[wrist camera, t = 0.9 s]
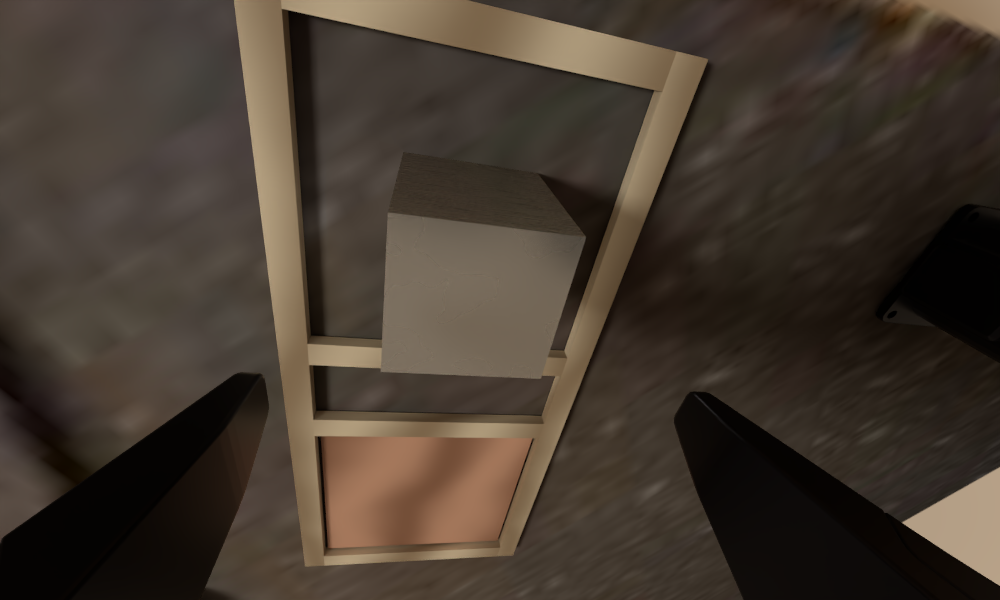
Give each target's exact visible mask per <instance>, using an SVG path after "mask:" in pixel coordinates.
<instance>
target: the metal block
mask: <svg viewBox="0 0 1000 600" xmlns="http://www.w3.org/2000/svg"><path fill="white" fill-rule="evenodd" d="M585 240H586V236H585V235H584V234H583V232H582V231H581V230H580V228H579V227H578V226H577V225H576V223H575V222H574V221H573V219H572V218H571V217H570V215H569V214H568V213H567V211H566V210H565V209H564V207H563V206H562V205H561V203H560V202H559V201H558V200H557V198H556V197H555V196H554V194H553V193H552V192H551V190H550V189H549V188H548V186H547V185H546V184H545V182H544V181H543V180H542V178H541V177H540V176H539V175H538V173H534V172H528V171H521V170H515V169H509V168H502V167H496V166H490V165H483V164H477V163H471V162H464V161H458V160H452V159H445V158H439V157H433V156H426V155H420V154H414V153H407V152H403V156H402V160H401V164H400V167H399V171H398V175H397V179H396V183H395V187H394V191H393V195H392V199H391V203H390V206H389V210H388V223H387V245H386V268H385V290H384V312H383V334H382V357H381V372H398V373H421V374H444V375H467V376H490V377H513V378H536V379H541V376H542V373H543V370H544V367H545V364H546V361H547V358H548V354H549V351H550V348H551V345H552V342H553V339H554V336H555V333H556V330H557V327H558V323H559V320H560V317H561V314H562V311H563V308H564V305H565V302H566V299H567V296H568V292H569V289H570V286H571V283H572V280H573V277H574V274H575V271H576V268H577V264H578V261H579V258H580V255H581V252H582V249H583V246H584V243H585Z"/></svg>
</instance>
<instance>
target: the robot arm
mask: <svg viewBox="0 0 1000 600" xmlns="http://www.w3.org/2000/svg"><path fill="white" fill-rule="evenodd" d="M876 316H877V317H878V318H879V319H881V320H882V321H884V322H889V323H900V324H911V325H922V326H932V327H938V328H940V329H942V330H943V331H945V332H947V333H949V334H950V335H952V336H954V337H955V338H957V339H959V340H961V341H962V342H964V343H966V344H968V345H969V346H971V347H973V348H975V349H976V350H978V351H980V352H981V353H983V354H985V355H987V356H988V357H990V358H992V359H994V360H995V361H997V362H999V363H1000V209H996V208H990V207H985V206H980V205H974V204H969V205H966V206H964V207H962V208H961V209H960V210H959V211H958V212H957V213H956V214H955V215H954V216H953V218H952V219H951V220H950V221H949V223H948V224H947V225H946V226H945V228H944V229H943V230H942V231H941V233H940V234H939V235H938V236H937V237H936V239H935V240H934V241H933V242H932V244H931V245H930V246H929V247H928V249H927V250H926V251H925V252H924V254H923V255H922V256H921V257H920V258H919V260H918V261H917V262H916V263H915V265H914V266H913V267H912V268H911V270H910V271H909V272H908V273H907V275H906V276H905V277H904V278H903V279H902V281H901V282H900V283H899V284H898V286H897V287H896V288H895V289H894V291H893V292H892V293H891V294H890V296H889V297H888V298H887V299H886V301H885V302H884V303H883V304H882V305H881V307H880V308H879V309H878V311H877V312H876ZM268 410H269V403H268V396H267V390H266V383H265V378H264V376H263V375H262V374H260V373H247V372H240V373H237V374H234V375H233V376H231V377H230V378H229V379H227V380H226V381H224V382H223V383H221V384H220V385H219V386H217V387H216V388H214V389H213V390H212V391H210V392H209V393H207V394H206V395H204V396H203V397H202V398H200V399H199V400H197V401H196V402H194V403H193V404H192V405H190V406H189V407H187V408H186V409H185V410H183V411H182V412H180V413H179V414H177V415H176V416H175V417H173V418H172V419H170V420H169V421H167V422H166V423H165V424H163V425H162V426H160V427H159V428H158V429H156V430H155V431H153V432H152V433H150V434H149V435H148V436H146V437H145V438H143V439H142V440H140V441H139V442H138V443H136V444H135V445H133V446H132V447H131V448H129V449H128V450H126V451H125V452H123V453H122V454H121V455H119V456H118V457H116V458H115V459H114V460H112V461H111V462H109V463H108V464H106V465H105V466H104V467H102V468H101V469H99V470H98V471H96V472H95V473H94V474H92V475H91V476H89V477H88V478H87V479H85V480H84V481H82V482H81V483H79V484H78V485H77V486H75V487H74V488H72V489H71V490H69V491H68V492H67V493H65V494H64V495H62V496H61V497H60V498H58V499H57V500H55V501H54V502H52V503H51V504H50V505H48V506H47V507H45V508H44V509H42V510H41V511H40V512H38V513H37V514H35V515H34V516H33V517H31V518H30V519H28V520H27V521H25V522H24V523H23V524H21V525H20V526H18V527H17V528H15V529H14V530H13V531H11V532H10V533H8V534H7V535H6V536H4V537H3V538H2V539H1V542H0V600H200V598H201V596H202V593H203V591H204V589H205V586H206V584H207V582H208V579H209V577H210V575H211V572H212V570H213V567H214V565H215V563H216V560H217V558H218V556H219V553H220V551H221V549H222V546H223V544H224V542H225V539H226V537H227V535H228V532H229V530H230V528H231V525H232V523H233V521H234V518H235V516H236V513H237V511H238V509H239V506H240V504H241V501H242V499H243V496H244V493H245V490H246V487H247V484H248V480H249V477H250V474H251V470H252V467H253V464H254V460H255V457H256V453H257V450H258V447H259V443H260V440H261V437H262V433H263V430H264V427H265V423H266V420H267V416H268ZM674 425H675V428H676V431H677V435H678V438H679V441H680V444H681V447H682V450H683V453H684V456H685V459H686V462H687V465H688V468H689V471H690V474H691V477H692V480H693V483H694V486H695V488H696V491H697V493H698V496H699V498H700V501H701V503H702V505H703V508H704V510H705V512H706V514H707V517H708V519H709V521H710V524H711V526H712V528H713V531H714V533H715V535H716V537H717V540H718V542H719V544H720V547H721V549H722V551H723V554H724V556H725V558H726V561H727V563H728V565H729V567H730V570H731V572H732V574H733V577H734V579H735V581H736V584H737V586H738V588H739V590H740V593H741V595H742V597H743V600H1000V586H999V585H997V584H996V583H994V582H992V581H991V580H989V579H988V578H986V577H984V576H983V575H981V574H980V573H978V572H977V571H975V570H973V569H972V568H970V567H969V566H967V565H966V564H964V563H962V562H961V561H959V560H958V559H956V558H954V557H953V556H951V555H950V554H948V553H947V552H945V551H943V550H942V549H940V548H939V547H937V546H936V545H934V544H933V543H931V542H930V541H928V540H927V539H925V538H924V537H922V536H921V535H919V534H918V533H916V532H915V531H913V530H912V529H910V528H909V527H907V526H906V525H904V524H903V523H901V522H900V521H898V520H897V519H895V518H894V517H892V516H891V515H889V514H888V513H884V511H883V510H882V509H880V508H879V507H877V506H876V505H874V504H873V503H872V502H870V501H869V500H867V499H866V498H864V497H863V496H861V495H860V494H858V493H857V492H855V491H854V490H852V489H851V488H849V487H848V486H846V485H845V484H843V483H842V482H840V481H839V480H837V479H836V478H834V477H833V476H831V475H830V474H829V473H827V472H826V471H824V470H823V469H821V468H820V467H818V466H817V465H815V464H814V463H812V462H811V461H809V460H808V459H806V458H805V457H803V456H802V455H800V454H799V453H797V452H796V451H794V450H793V449H791V448H790V447H789V446H787V445H786V444H784V443H783V442H781V441H780V440H778V439H777V438H775V437H774V436H772V435H771V434H769V433H768V432H766V431H765V430H763V429H762V428H760V427H759V426H757V425H756V424H754V423H753V422H752V421H750V420H749V419H747V418H746V417H744V416H743V415H741V414H740V413H738V412H737V411H735V410H734V409H732V408H731V407H729V406H728V405H726V404H725V403H723V402H722V401H720V400H719V399H717V398H716V397H714V396H713V395H712V394H710V393H707V392H690V393H689V394H687V396H686V397H685V399H684V401H683V402H682V404H681V406H680V407H679V409H678V411H677V413H676V414H675V417H674Z"/></svg>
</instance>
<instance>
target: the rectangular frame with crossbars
mask: <svg viewBox="0 0 1000 600" xmlns="http://www.w3.org/2000/svg"><path fill="white" fill-rule="evenodd" d="M234 4H235V12H236V20H237V28H238V36H239V44H240V52H241V60H242V68H243V76H244V84H245V92H246V100H247V108H248V116H249V123H250V131H251V139H252V147H253V155H254V163H255V171H256V179H257V187H258V195H259V203H260V211H261V219H262V227H263V234H264V242H265V250H266V258H267V266H268V274H269V282H270V290H271V298H272V306H273V314H274V322H275V330H276V338H277V346H278V353H279V361H280V369H281V377H282V385H283V393H284V401H285V409H286V417H287V425H288V433H289V441H290V449H291V457H292V465H293V472H294V480H295V488H296V496H297V504H298V512H299V520H300V528H301V536H302V544H303V552H304V560H305V566H324V565H342V564H361V563H379V562H398V561H416V560H435V559H453V558H471V557H490V556H508V555H513V554H514V551H515V549H516V546H517V543H518V541H519V538H520V536H521V533H522V531H523V528H524V526H525V523H526V521H527V518H528V516H529V513H530V511H531V508H532V505H533V503H534V500H535V498H536V495H537V493H538V490H539V488H540V485H541V483H542V480H543V478H544V475H545V472H546V470H547V467H548V465H549V462H550V460H551V457H552V455H553V452H554V450H555V447H556V445H557V442H558V439H559V437H560V434H561V432H562V429H563V427H564V424H565V422H566V419H567V417H568V414H569V412H570V409H571V406H572V404H573V401H574V399H575V396H576V394H577V391H578V389H579V386H580V384H581V381H582V379H583V376H584V373H585V371H586V368H587V366H588V363H589V361H590V358H591V356H592V353H593V351H594V348H595V346H596V343H597V340H598V338H599V335H600V333H601V330H602V328H603V325H604V323H605V320H606V318H607V315H608V313H609V310H610V307H611V305H612V302H613V300H614V297H615V295H616V292H617V290H618V287H619V285H620V282H621V280H622V277H623V275H624V272H625V269H626V267H627V264H628V262H629V259H630V257H631V254H632V252H633V249H634V247H635V244H636V242H637V239H638V236H639V234H640V231H641V229H642V226H643V224H644V221H645V219H646V216H647V214H648V211H649V209H650V206H651V203H652V201H653V198H654V196H655V193H656V191H657V188H658V186H659V183H660V181H661V178H662V176H663V173H664V170H665V168H666V165H667V163H668V160H669V158H670V155H671V153H672V150H673V148H674V145H675V143H676V140H677V137H678V135H679V132H680V130H681V127H682V125H683V122H684V120H685V117H686V115H687V112H688V110H689V107H690V104H691V102H692V99H693V97H694V94H695V92H696V89H697V87H698V84H699V82H700V79H701V77H702V74H703V71H704V69H705V66H706V64H707V61H708V59H705V58H701V57H697V56H693V55H689V54H685V53H681V52H676V51H672V50H668V49H664V48H660V47H656V46H652V45H648V44H644V43H640V42H636V41H632V40H627V39H623V38H619V37H615V36H611V35H607V34H603V33H599V32H595V31H591V30H587V29H583V28H578V27H574V26H570V25H566V24H562V23H558V22H554V21H550V20H546V19H542V18H538V17H533V16H529V15H525V14H521V13H517V12H513V11H509V10H505V9H501V8H497V7H493V6H489V5H484V4H480V3H476V2H472V1H468V0H234ZM288 10H290V11H294V12H299V13H304V14H308V15H313V16H317V17H322V18H326V19H331V20H336V21H340V22H345V23H349V24H354V25H359V26H363V27H368V28H372V29H377V30H381V31H386V32H391V33H395V34H400V35H404V36H409V37H413V38H418V39H423V40H427V41H432V42H436V43H441V44H445V45H450V46H455V47H459V48H464V49H468V50H473V51H478V52H482V53H487V54H491V55H496V56H500V57H505V58H510V59H514V60H519V61H523V62H528V63H532V64H537V65H542V66H546V67H551V68H555V69H560V70H564V71H569V72H574V73H578V74H583V75H587V76H592V77H597V78H601V79H606V80H610V81H615V82H619V83H624V84H629V85H633V86H638V87H642V88H647V89H651V90H654V93H653V96H652V99H651V101H650V104H649V107H648V110H647V113H646V116H645V119H644V122H643V125H642V127H641V130H640V133H639V136H638V139H637V142H636V145H635V148H634V151H633V153H632V156H631V159H630V162H629V165H628V168H627V171H626V174H625V177H624V179H623V182H622V185H621V188H620V191H619V194H618V197H617V200H616V203H615V205H614V208H613V211H612V214H611V217H610V220H609V223H608V226H607V229H606V232H605V234H604V237H603V240H602V243H601V246H600V249H599V252H598V255H597V258H596V260H595V263H594V266H593V269H592V272H591V275H590V278H589V281H588V284H587V286H586V289H585V292H584V295H583V298H582V301H581V304H580V307H579V310H578V312H577V315H576V318H575V321H574V324H573V327H572V330H571V333H570V336H569V338H568V341H567V344H566V347H565V350H564V351H562V350H550V351H549V354H548V358H547V361H546V364H545V367H544V370H543V373H542V376H555V379H554V382H553V385H552V388H551V391H550V393H549V396H548V399H547V402H546V405H545V408H544V411H543V414H542V416H531V415H487V414H443V413H399V412H356V411H316V401H315V387H314V373H313V365H322V366H344V367H366V368H381V357H382V340H378V339H362V338H345V337H328V336H311V330H310V316H309V302H308V287H307V273H306V259H305V245H304V231H303V216H302V202H301V188H300V174H299V160H298V145H297V131H296V117H295V103H294V88H293V74H292V60H291V46H290V32H289V17H288ZM318 436H321V445H322V461H323V476H324V492H325V507H326V523H327V538H328V547H326V543H325V529H324V515H323V501H322V487H321V472H320V458H319V444H318ZM532 438H534V440H533V443H532V445H531V448H530V451H529V454H528V457H527V460H526V463H525V466H524V469H523V471H522V474H521V477H520V480H519V483H518V486H517V489H516V492H515V495H514V497H513V500H512V503H511V506H510V509H509V512H508V515H507V518H506V521H505V524H504V526H503V529H502V532H501V535H500V538H499V539H498V537H499V534H500V531H501V528H502V525H503V523H504V520H505V517H506V514H507V511H508V508H509V505H510V502H511V499H512V496H513V493H514V490H515V488H516V485H517V482H518V479H519V476H520V473H521V470H522V467H523V464H524V461H525V458H526V455H527V453H528V450H529V447H530V444H531V441H532Z"/></svg>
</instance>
